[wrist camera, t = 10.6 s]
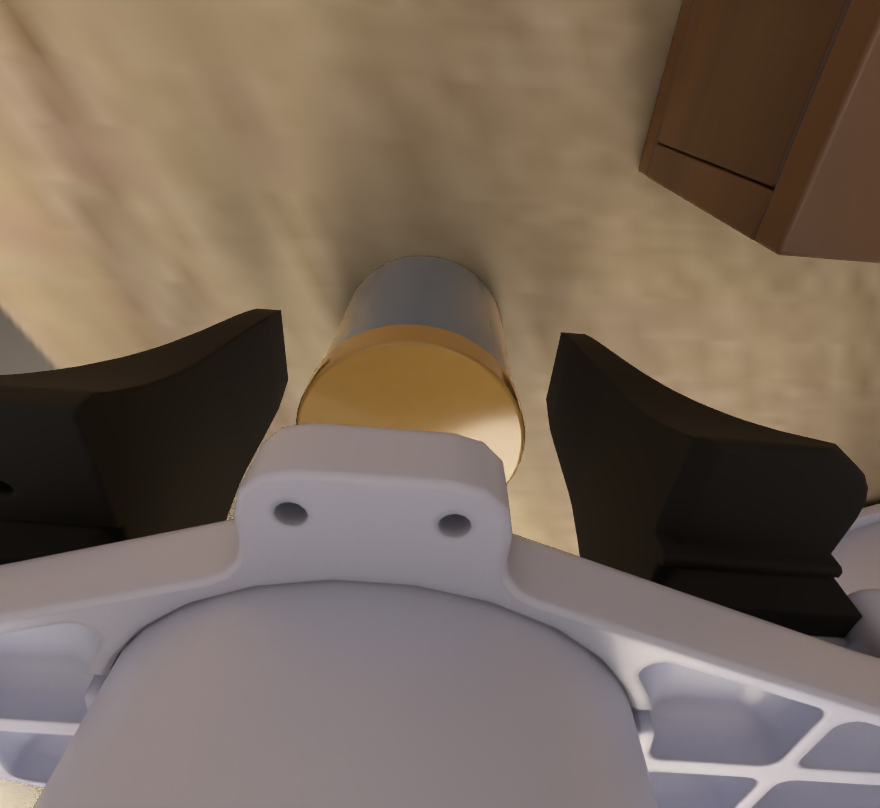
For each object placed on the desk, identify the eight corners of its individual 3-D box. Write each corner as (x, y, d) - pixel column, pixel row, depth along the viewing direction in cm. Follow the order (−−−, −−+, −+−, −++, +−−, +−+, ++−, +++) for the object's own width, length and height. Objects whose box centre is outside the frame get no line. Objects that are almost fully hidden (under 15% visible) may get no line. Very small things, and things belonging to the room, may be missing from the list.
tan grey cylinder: (528, 365, 15) (557, 487, 11) (391, 419, 16) (368, 548, 12) (463, 220, 13) (468, 300, 9) (310, 295, 14) (247, 397, 10)
